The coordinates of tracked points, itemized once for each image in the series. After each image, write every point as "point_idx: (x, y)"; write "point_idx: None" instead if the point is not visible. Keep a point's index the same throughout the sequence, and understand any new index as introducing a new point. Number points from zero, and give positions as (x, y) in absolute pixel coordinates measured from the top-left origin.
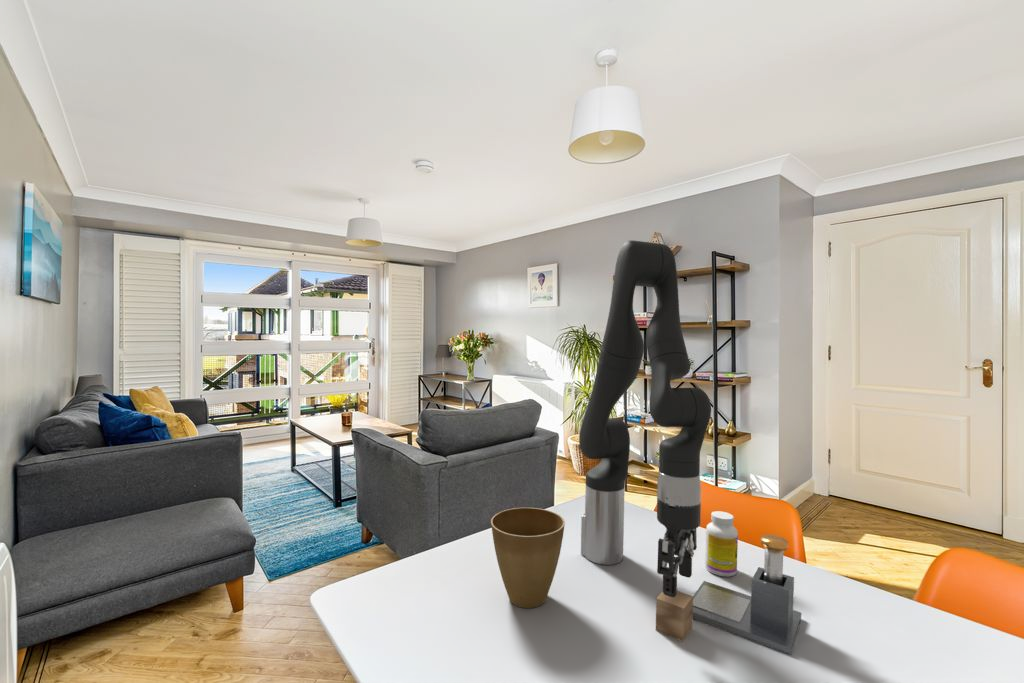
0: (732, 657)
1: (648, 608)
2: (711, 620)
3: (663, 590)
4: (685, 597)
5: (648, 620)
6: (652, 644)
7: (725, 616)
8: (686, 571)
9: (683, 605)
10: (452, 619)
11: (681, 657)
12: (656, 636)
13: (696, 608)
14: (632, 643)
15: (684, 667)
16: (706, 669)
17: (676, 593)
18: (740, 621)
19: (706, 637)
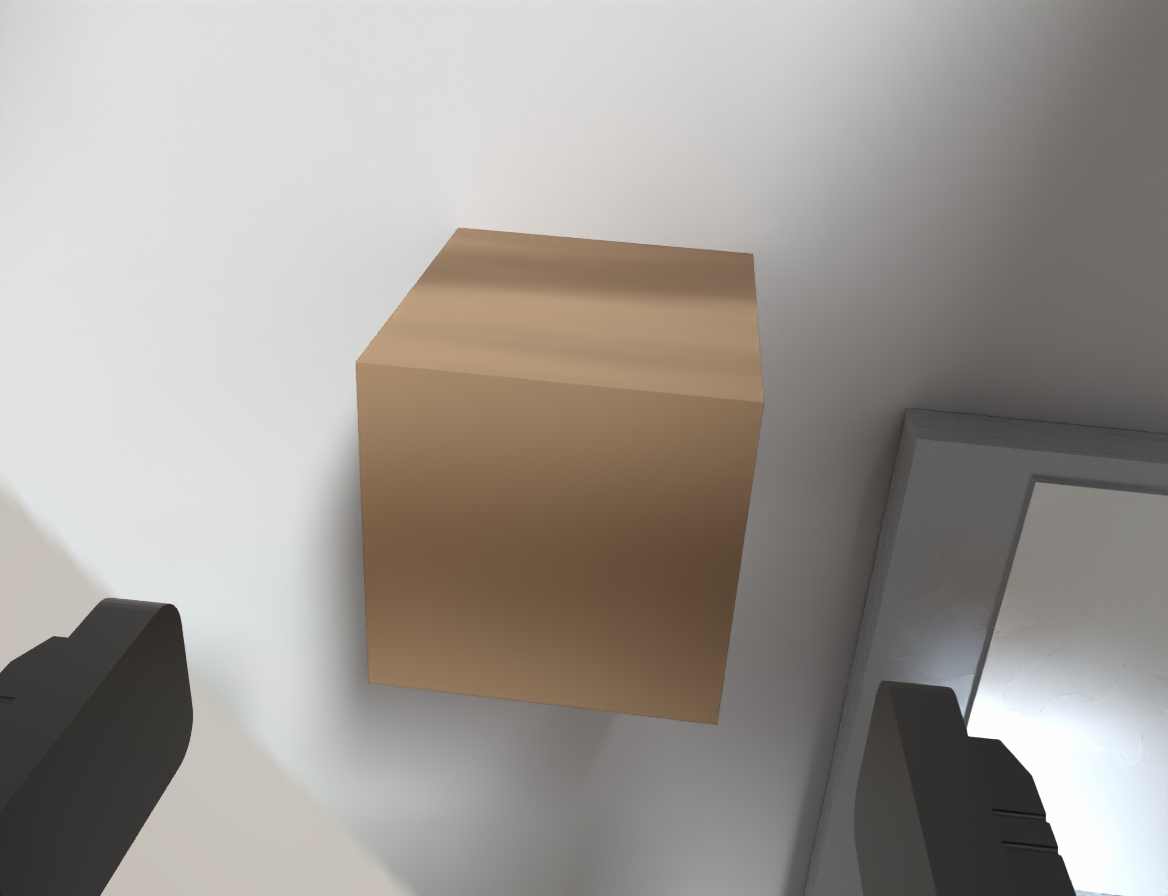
0: (505, 796)
1: (830, 24)
2: (863, 670)
3: (95, 620)
4: (624, 661)
5: (580, 106)
6: (225, 265)
7: None
8: (871, 834)
9: (428, 668)
10: None
11: (243, 510)
12: (366, 263)
13: (989, 544)
14: (96, 90)
15: (149, 549)
16: (246, 673)
17: (173, 769)
18: None
19: None
